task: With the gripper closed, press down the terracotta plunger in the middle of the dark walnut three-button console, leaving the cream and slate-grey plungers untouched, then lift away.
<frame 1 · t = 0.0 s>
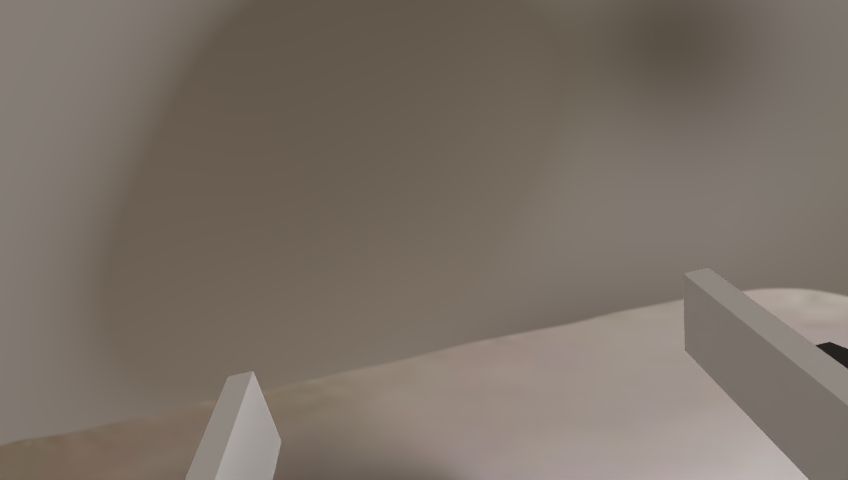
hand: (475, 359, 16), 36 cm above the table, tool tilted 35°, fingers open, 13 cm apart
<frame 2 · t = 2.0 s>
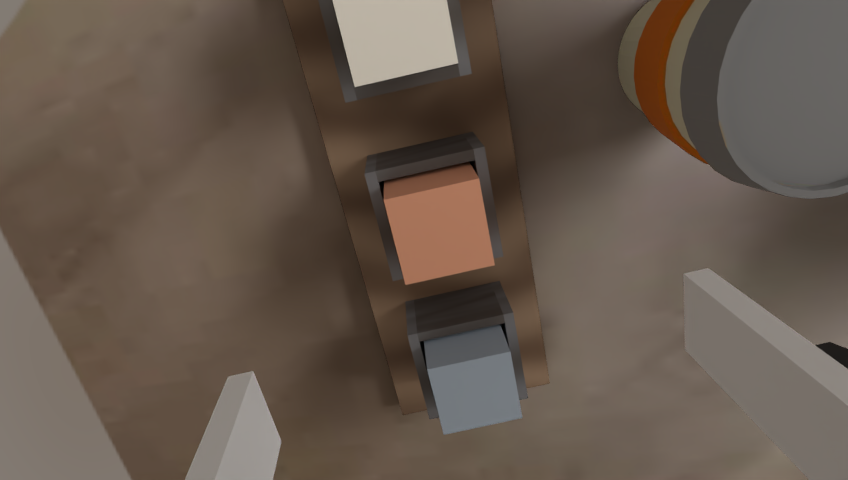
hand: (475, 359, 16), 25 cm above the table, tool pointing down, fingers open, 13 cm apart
reusable coffee cup: (678, 54, 38), on the table
console: (429, 188, 40), on the table
cream button: (393, 19, 29), point 7 cm above the table, slide at 0.0 cm
slate button: (470, 372, 38), point 7 cm above the table, slide at 0.0 cm
terracotta button: (437, 219, 34), point 7 cm above the table, slide at 0.0 cm
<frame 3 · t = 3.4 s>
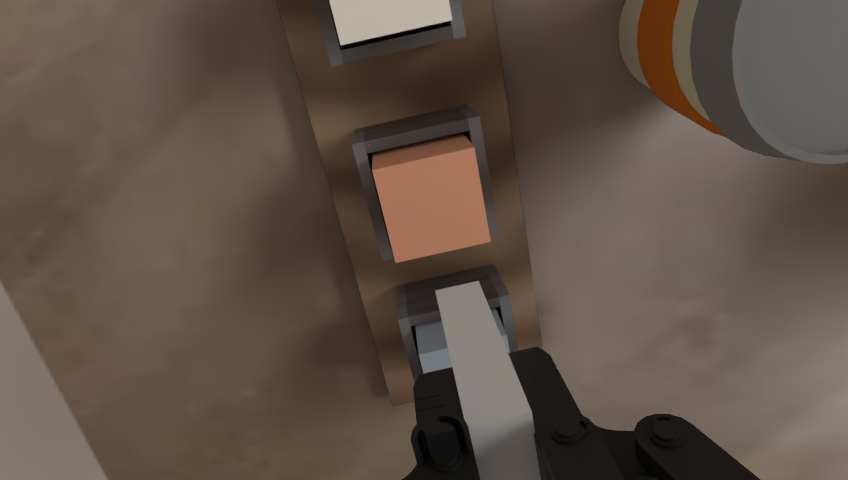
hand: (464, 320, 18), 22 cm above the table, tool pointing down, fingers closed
reusable coffee cup: (680, 24, 36), on the table
console: (420, 165, 38), on the table
slate button: (464, 358, 36), point 7 cm above the table, slide at 0.0 cm
terracotta button: (429, 194, 32), point 7 cm above the table, slide at 0.0 cm
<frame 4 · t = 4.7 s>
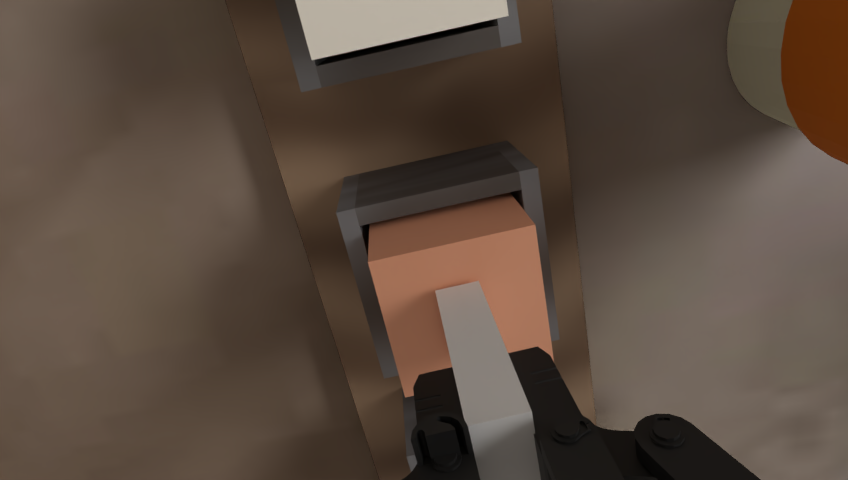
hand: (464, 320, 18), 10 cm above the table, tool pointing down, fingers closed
reusable coffee cup: (816, 24, 25), on the table
console: (438, 223, 27), on the table
terracotta button: (456, 283, 21), point 7 cm above the table, slide at 0.2 cm, touching gripper
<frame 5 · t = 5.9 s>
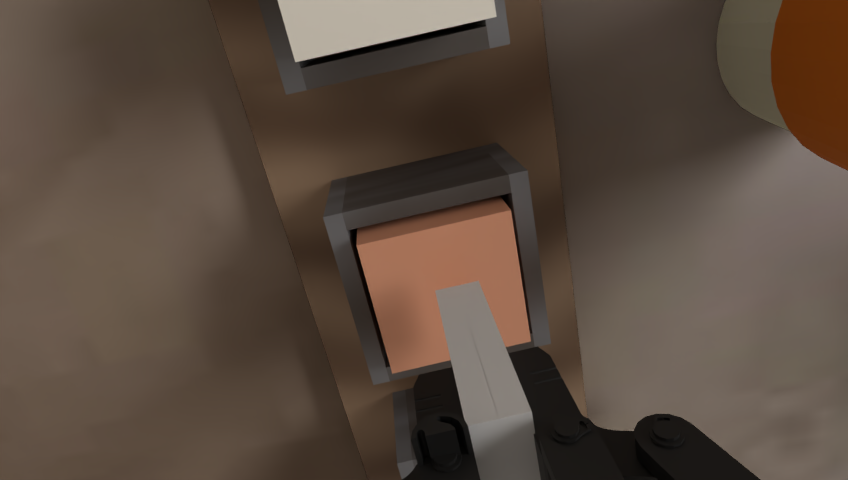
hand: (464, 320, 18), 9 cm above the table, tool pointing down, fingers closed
reusable coffee cup: (805, 25, 25), on the table
console: (428, 226, 27), on the table
terracotta button: (440, 268, 22), point 5 cm above the table, slide at 2.1 cm
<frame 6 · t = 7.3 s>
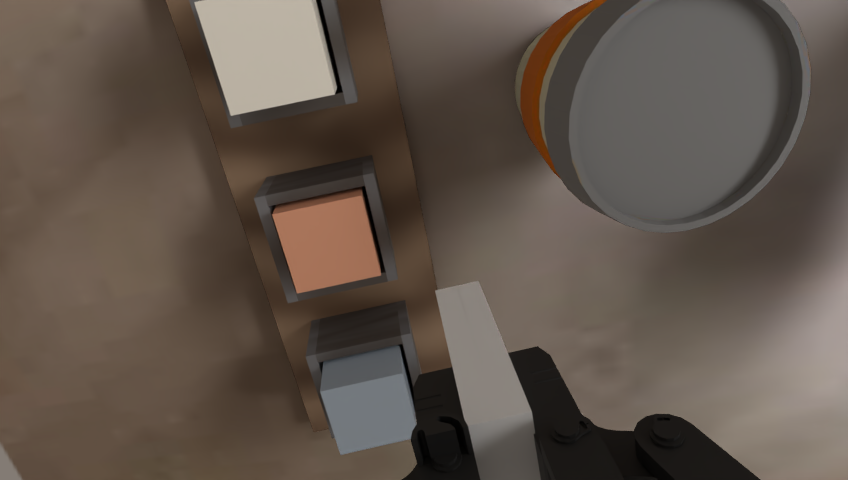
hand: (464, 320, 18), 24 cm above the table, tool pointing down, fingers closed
reusable coffee cup: (572, 83, 39), on the table
console: (333, 208, 41), on the table
cream button: (274, 48, 30), point 7 cm above the table, slide at 0.0 cm
slate button: (370, 392, 39), point 7 cm above the table, slide at 0.0 cm
terracotta button: (330, 231, 36), point 5 cm above the table, slide at 2.1 cm
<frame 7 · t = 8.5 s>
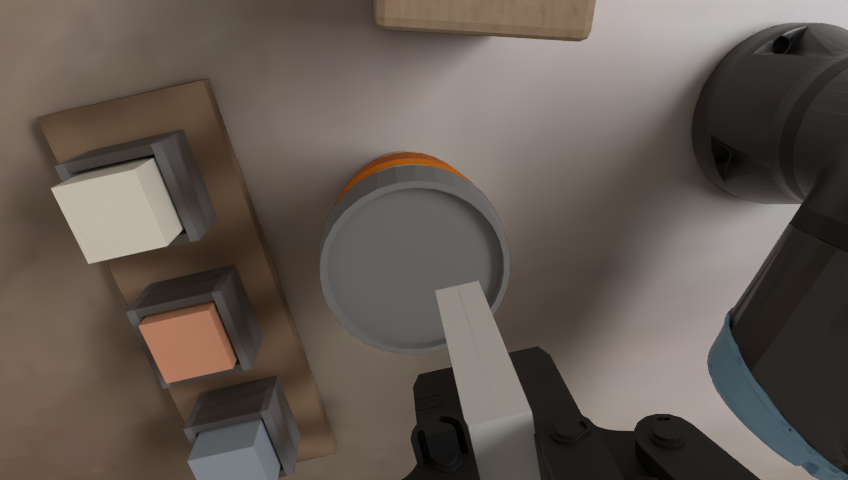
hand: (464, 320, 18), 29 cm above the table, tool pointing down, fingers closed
reusable coffee cup: (404, 200, 47), on the table
console: (213, 303, 49), on the table
cream button: (126, 206, 38), point 7 cm above the table, slide at 0.0 cm
slate button: (238, 456, 47), point 7 cm above the table, slide at 0.0 cm
terracotta button: (196, 331, 45), point 5 cm above the table, slide at 2.1 cm
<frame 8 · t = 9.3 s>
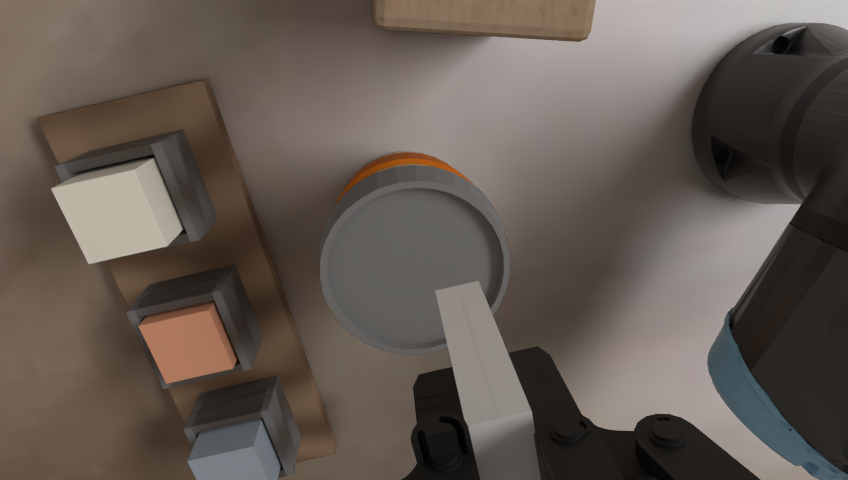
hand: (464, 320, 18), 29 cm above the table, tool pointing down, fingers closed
reusable coffee cup: (404, 200, 47), on the table
console: (213, 303, 49), on the table
cream button: (126, 206, 38), point 7 cm above the table, slide at 0.0 cm
slate button: (238, 456, 47), point 7 cm above the table, slide at 0.0 cm
terracotta button: (196, 331, 45), point 5 cm above the table, slide at 2.1 cm
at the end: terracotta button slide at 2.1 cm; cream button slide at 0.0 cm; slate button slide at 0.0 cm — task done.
